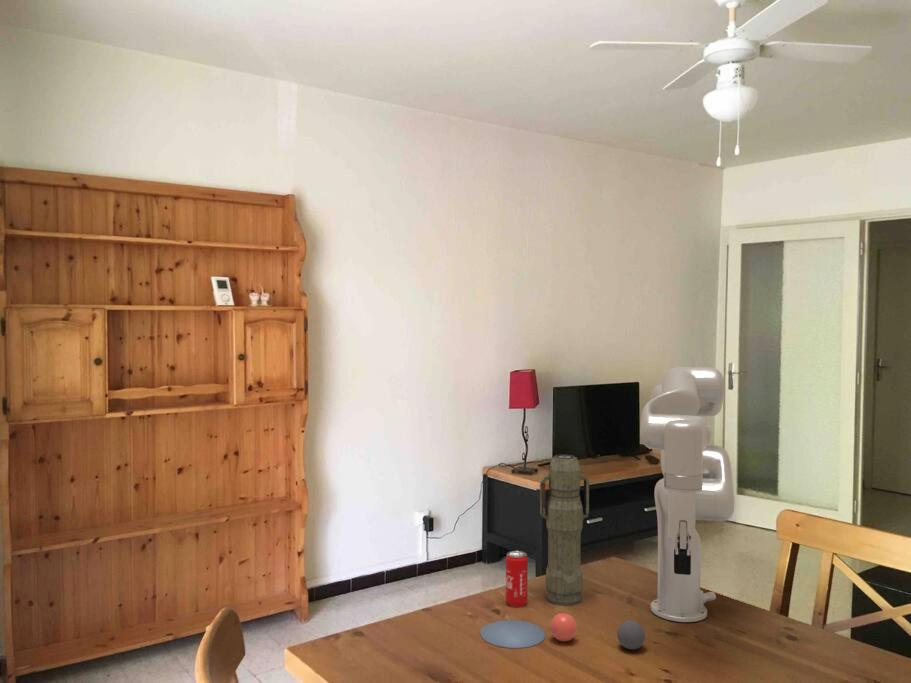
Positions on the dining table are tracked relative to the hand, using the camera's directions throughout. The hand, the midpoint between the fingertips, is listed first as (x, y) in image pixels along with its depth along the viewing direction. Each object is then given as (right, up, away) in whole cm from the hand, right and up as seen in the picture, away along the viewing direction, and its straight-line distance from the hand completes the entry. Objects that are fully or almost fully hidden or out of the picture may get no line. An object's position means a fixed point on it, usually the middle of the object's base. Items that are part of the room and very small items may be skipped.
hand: (682, 571), depth 149 cm
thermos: (-20, -17, +31) cm, 40 cm away
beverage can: (-31, -17, +28) cm, 45 cm away
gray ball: (-10, -14, +3) cm, 17 cm away
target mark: (-34, -17, +10) cm, 39 cm away
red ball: (-23, -14, +7) cm, 28 cm away
